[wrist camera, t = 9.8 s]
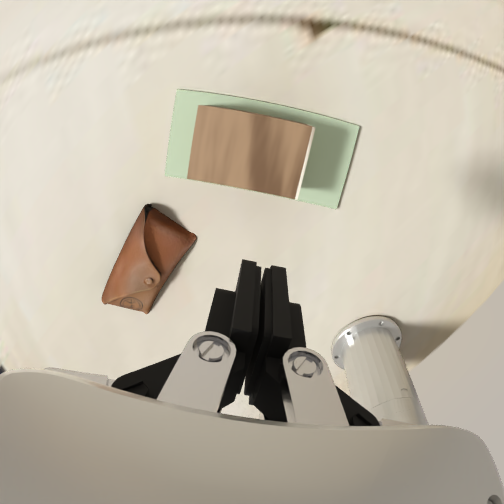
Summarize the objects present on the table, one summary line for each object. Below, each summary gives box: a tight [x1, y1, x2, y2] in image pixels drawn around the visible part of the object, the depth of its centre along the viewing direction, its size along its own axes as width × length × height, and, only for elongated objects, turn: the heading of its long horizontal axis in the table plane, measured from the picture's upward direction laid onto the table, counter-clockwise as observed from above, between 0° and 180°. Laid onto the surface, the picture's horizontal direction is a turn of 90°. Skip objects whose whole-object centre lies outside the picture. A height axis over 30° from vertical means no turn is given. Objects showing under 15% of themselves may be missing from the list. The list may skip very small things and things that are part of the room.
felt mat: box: [165, 89, 360, 209], centre depth 35 cm, size 22×11×1 cm, turn 79°
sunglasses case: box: [102, 204, 197, 314], centre depth 42 cm, size 18×7×7 cm
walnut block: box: [187, 105, 315, 200], centre depth 33 cm, size 5×8×12 cm
